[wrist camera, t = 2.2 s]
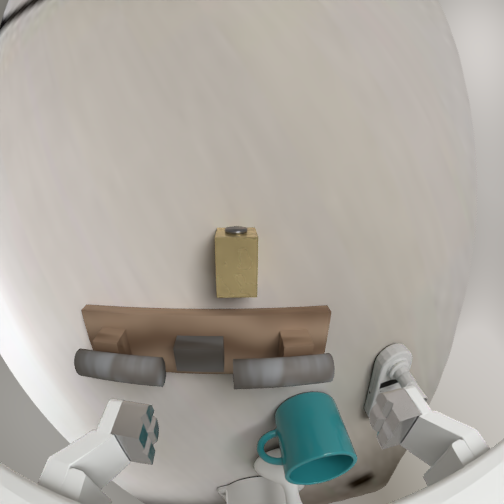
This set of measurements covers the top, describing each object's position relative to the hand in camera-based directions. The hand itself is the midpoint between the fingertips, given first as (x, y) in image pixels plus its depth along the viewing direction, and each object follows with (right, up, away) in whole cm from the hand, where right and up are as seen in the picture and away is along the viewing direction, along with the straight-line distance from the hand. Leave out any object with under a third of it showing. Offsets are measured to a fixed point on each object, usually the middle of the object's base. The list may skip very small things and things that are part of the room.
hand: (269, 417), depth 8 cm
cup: (+6, -17, +27) cm, 32 cm away
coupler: (-2, +5, +19) cm, 20 cm away
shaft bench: (-6, -4, +22) cm, 23 cm away
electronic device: (+19, -13, +27) cm, 36 cm away
